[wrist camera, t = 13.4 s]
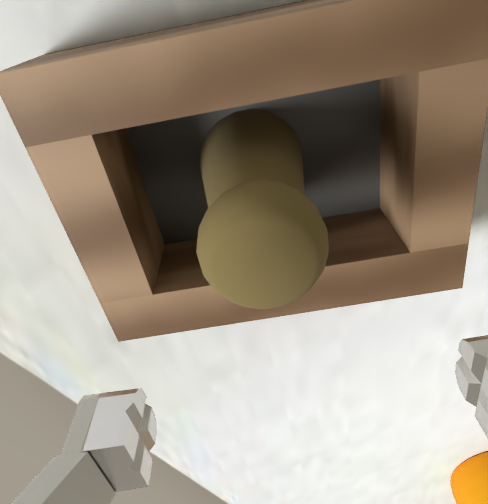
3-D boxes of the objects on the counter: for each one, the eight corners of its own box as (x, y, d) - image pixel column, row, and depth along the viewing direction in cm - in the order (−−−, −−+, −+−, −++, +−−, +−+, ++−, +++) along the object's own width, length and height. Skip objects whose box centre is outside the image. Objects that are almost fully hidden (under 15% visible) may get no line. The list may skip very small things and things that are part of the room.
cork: (213, 95, 22) (204, 174, 13) (318, 126, 23) (378, 220, 14) (189, 194, 25) (166, 316, 16) (282, 218, 26) (312, 344, 17)
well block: (42, 55, 21) (-10, 75, 16) (441, -28, 20) (506, -31, 15) (135, 285, 29) (118, 341, 25) (423, 237, 28) (462, 287, 23)
